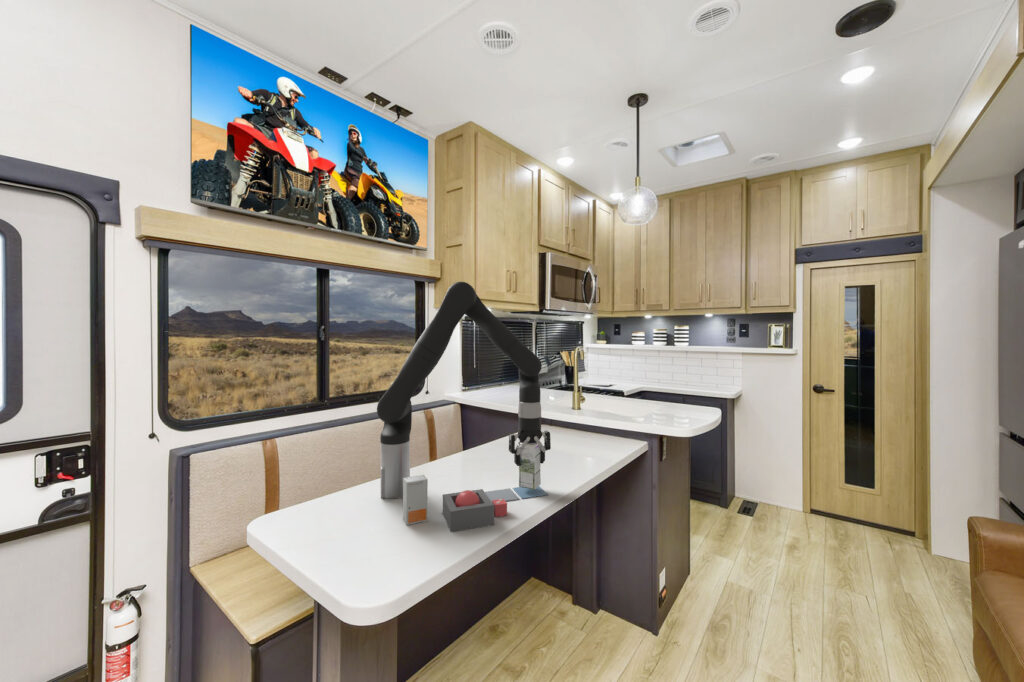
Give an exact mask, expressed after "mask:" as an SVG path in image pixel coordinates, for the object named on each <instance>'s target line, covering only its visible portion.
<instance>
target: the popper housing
mask: <svg viewBox="0 0 1024 682" xmlns="http://www.w3.org/2000/svg"><path fill="white" fill-rule="evenodd" d="M471 491H473V492H475V493H476V494H477V495H478V497H479V500H480V504H476V505H469V506H462V507H456V506H455V501H456V498H457V496H458V495H459V494H460V493H461V492H462V491H459V492H451V493H446V494H445V493H444V494H442V515H443V517H444V520H445V522H446V525H447V526H448V527H447V528H448V530H449V531H450V533H454V532H459V531H465V530H471V528H473V529H477V528H478V527H479V528H482V527H484V526H485V527H489V526H488V525H490V526H494V525H495V518H499V517H498V516H500V517H505V516H504V515H507V516H508V502H507V501H505V500H504V499H498V500H492V502H491V500H490V499H489V498H488V496H487V495H486V493H485V492H486V491H484V489H483V488H482V489H475V490H473V489H472V490H471ZM494 515H495V516H494ZM485 527H484V528H485Z"/></svg>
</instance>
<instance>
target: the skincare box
mask: <svg viewBox="0 0 1024 682" xmlns="http://www.w3.org/2000/svg"><path fill="white" fill-rule="evenodd" d="M428 481H429V480H428V478H427V477H426V476H425V474H420V475H412V476H410V477H407V478H403V497H402V520H403V521H404V523H405V525H406V526H409V525H413V524H419V523H425V522H428V486H429V485H428Z"/></svg>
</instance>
